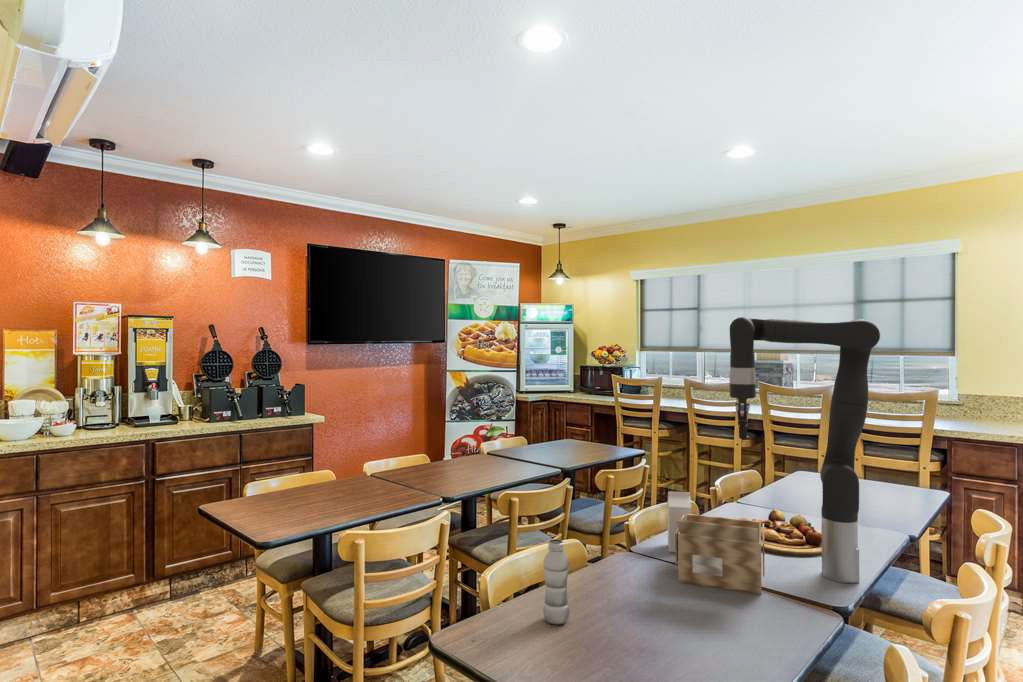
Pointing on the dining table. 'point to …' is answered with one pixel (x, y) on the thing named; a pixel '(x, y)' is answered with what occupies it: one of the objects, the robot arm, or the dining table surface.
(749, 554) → the light wooden open box
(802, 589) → the dining table surface
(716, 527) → the front flap
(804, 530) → the wooden plate with food
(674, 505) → the milk carton
